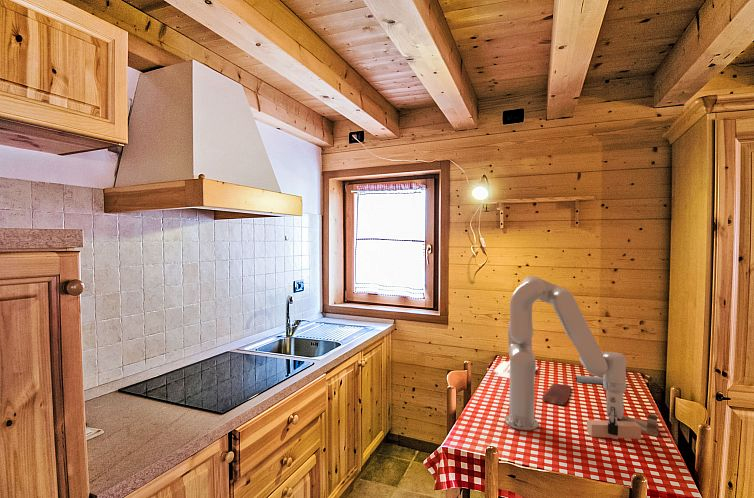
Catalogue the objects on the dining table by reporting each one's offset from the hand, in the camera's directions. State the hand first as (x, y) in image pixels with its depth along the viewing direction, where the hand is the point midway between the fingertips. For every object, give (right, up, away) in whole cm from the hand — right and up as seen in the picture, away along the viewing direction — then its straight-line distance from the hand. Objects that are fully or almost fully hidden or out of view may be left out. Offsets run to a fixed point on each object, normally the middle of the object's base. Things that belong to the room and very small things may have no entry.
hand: (614, 429), depth 152 cm
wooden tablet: (-8, -1, +42) cm, 43 cm away
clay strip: (0, -3, 0) cm, 3 cm away
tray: (-13, -1, +73) cm, 74 cm away
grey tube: (+25, -1, +53) cm, 59 cm away
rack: (+13, -2, +8) cm, 15 cm away
